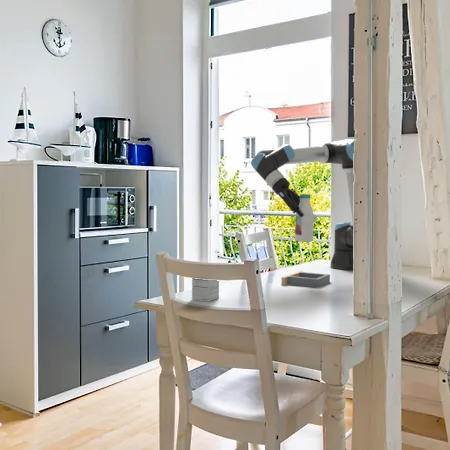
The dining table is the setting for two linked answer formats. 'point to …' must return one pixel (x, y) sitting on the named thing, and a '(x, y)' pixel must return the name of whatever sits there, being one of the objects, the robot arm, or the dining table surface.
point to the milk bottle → (301, 229)
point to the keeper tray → (306, 279)
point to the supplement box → (205, 289)
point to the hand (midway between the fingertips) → (312, 221)
